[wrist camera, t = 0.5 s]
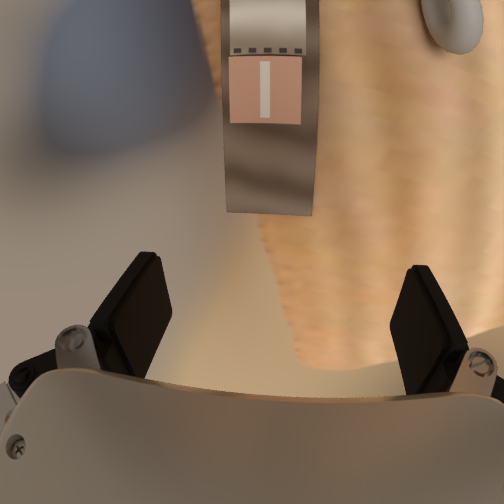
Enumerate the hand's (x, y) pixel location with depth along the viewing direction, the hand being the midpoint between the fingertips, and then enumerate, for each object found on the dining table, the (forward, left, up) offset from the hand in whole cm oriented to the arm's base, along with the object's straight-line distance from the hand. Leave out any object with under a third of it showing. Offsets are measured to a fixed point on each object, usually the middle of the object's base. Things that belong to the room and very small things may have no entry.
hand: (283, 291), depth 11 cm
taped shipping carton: (-7, -2, -23) cm, 24 cm away
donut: (-18, +16, -25) cm, 35 cm away
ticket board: (-10, -2, -25) cm, 27 cm away
